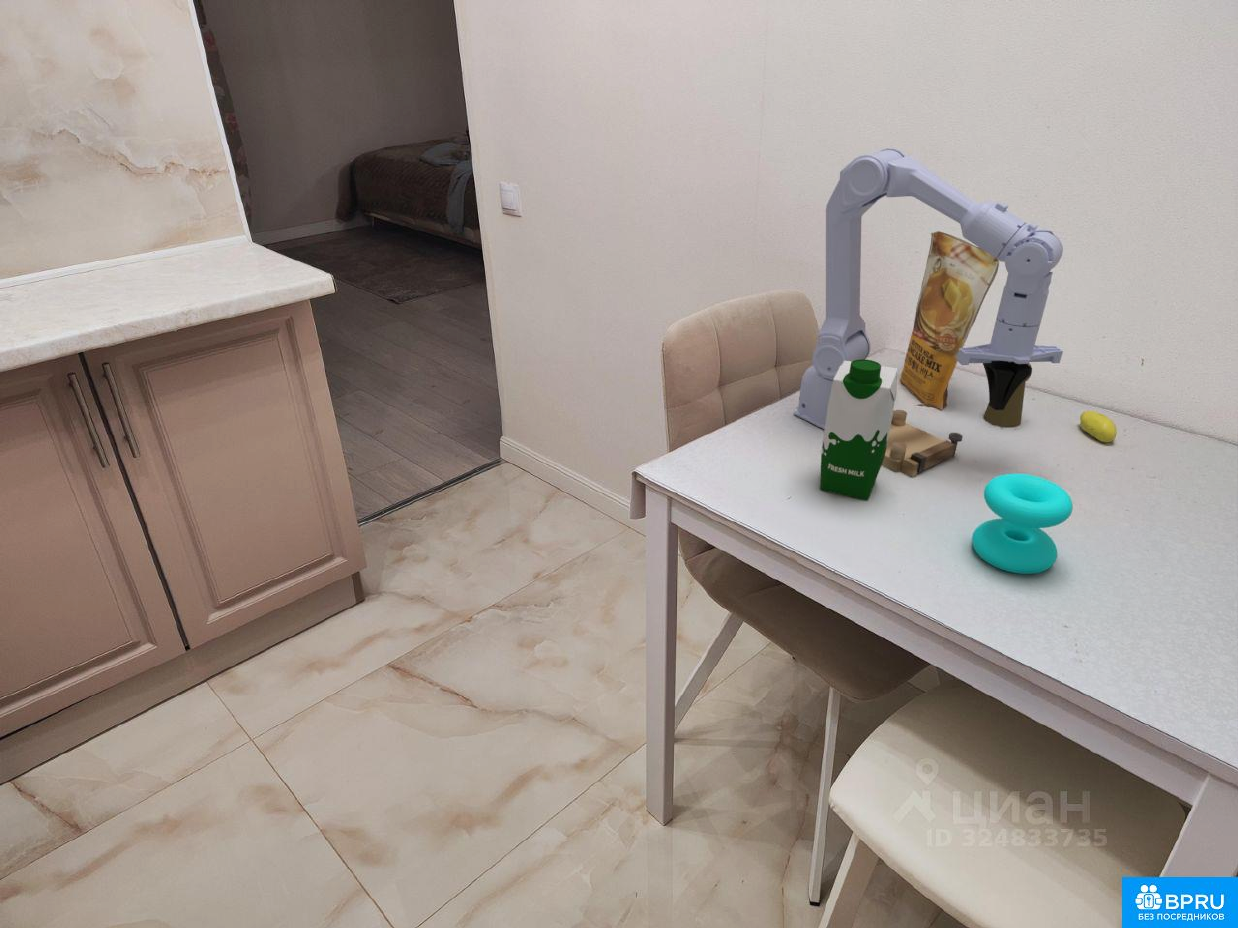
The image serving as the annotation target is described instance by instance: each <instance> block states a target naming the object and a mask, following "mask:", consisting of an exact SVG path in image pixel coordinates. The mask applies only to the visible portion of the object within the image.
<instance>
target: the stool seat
mask: <svg viewBox="0 0 1238 928" xmlns="http://www.w3.org/2000/svg"><path fill="white" fill-rule="evenodd" d="M907 415H908V412H907V410H906V411H905V410H902V409H894V410H893V416H892V421H891V426H890V432H889V437H888V443H887V448H886V453H885V457H884V460H883V463H882V465H881V466H883V467H884V468H887V469H889V470H891V471H892V472H894V473H898V472H901V473H903V472H904V473H903V474H905V475H906V474H907V476H908V475H909V476H908V477H910V476H911V477H910V478H914V477H916V476H917V474H918V472H917V469H918V464H919V463H917V462H915V461H913V460H911V455H912V454H914V453H916V452H917V453H919V452H921V451H923V450H926V449H928V448H930V447H932V446H935V445H937V444H939V443H942V442H944V441H945V440H944V439H942V438H940V437H938V436H935V435H933V434H932V433H929V432H927V431H925V430H923V429H920V428H918V427H915V426H913V425H911V424H909V423H907V422H906V420H907ZM948 441H950V442H951V443H954V444H955V448H954V452H953V456H952V457H951V458H954V457H955V455H956V451H957V447H958V443H959V442H962V441H963V434H961V433H959V432H950V433H949V434H948Z"/></svg>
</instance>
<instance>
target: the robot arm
mask: <svg viewBox="0 0 1238 928" xmlns="http://www.w3.org/2000/svg"><path fill="white" fill-rule="evenodd" d="M884 197H886V198H903V197H913V198H914V199H917V200H919V202H922V203H923V204H925V205H927V206H929V207H930V208H932V209H934V210H936V211H937V212H939V213H941V214H942V215H944V216H945V217H947V218H950V219H951V220H953V221H955V222H956V223H958V224H959V225H960V229H961V234H962V237H963V238H964V239H966V240H967V242H969V243H971V244H972V245H974V246H976V247H979V248H981V249H982V250H984V251H985V252H987V253H988V254H990V255H991V256H993V257H994V258H996V259H998V261H999V262H1003V263H1004V266H1005V270H1006V272H1007V277H1006V281H1005V284H1004V286H1003V289H1002V294H1001V298H1000V303H999V307H998V310H997V314H996V319H995V322H994V326H993V327H994V328H993V330H992V331H993V332H992V335H991V340H990V343H987V344H986V343H985V344H981V345H976V346H971V347H969V346H968V347H963V348H959V351H958V355H957V363H958V364H960V365H961V366H969V364H982V366H983V367H984V371H985V374H986V378H987V379H986V380H987V384H988V396H989V397H988V398H989V399H988V404H989V405H990V406H991V407H992V408H993V409H994V410H1004V408H1005V406H1006V404H1007V403H1008V401H1009V399H1010V398H1011V396H1012V395H1013V393H1014V392H1015V390H1016V389H1017V388H1018V386H1019V385H1020V384H1021V383H1022V382H1023V381H1024V380H1025V379H1026V378H1027V377H1028V376H1030V374H1031V372H1032V373H1033V367H1032V366H1031V367H1032V368H1031V367H1030V366H1029V365H1028V364H1029V363H1030V364H1031V363H1041V362H1043V363H1045V362H1048V363H1049V362H1050V363H1052V364H1060V363H1061V360H1062V357H1063V352H1064V351H1063V349H1061V348H1059V347H1058V346H1056V345H1040V344H1036V342H1037V337H1038V333H1039V330H1040V325H1041V323H1042V320H1043V314H1044V312H1045V308H1046V304H1047V301H1048V296H1049V292H1050V291H1049V290H1050V289H1049V288H1050V285H1051V283H1052V276H1053V274H1054V273H1053V272H1052V270H1053V269H1054V268H1056V266H1057V265H1058V264H1059V262H1060V261H1061V259H1062V256H1063V249H1064V248H1063V243H1062V242H1061V241H1062V240H1060V238H1059V237H1058V236H1057V235H1055V233H1054V232H1053V231H1052V230H1051V229H1044V228H1043V229H1041V228H1040V229H1038V224H1036V223H1034V222H1030V223H1027V222H1026V221H1024V220H1023V219H1022V218H1021V219H1020V217H1018V216H1016V215H1014V214H1013V213H1012V212H1010V211H1008V210H1007V209H1008V207H1009V205H1008V204H1006V203H1005V202H1004V201H1002V200H1001V201H999V202H997V203H995V202H994V201H993V200H986V201H984V202H976V201H974V200H973V199H972V198H970V197H969V196H967V195H966V194H964V193H963V192H961V190H959V189H957V188H956V187H954V186H953V185H952V184H951V183H949V182H948V181H947V180H945V179H944V178H942V177H941V176H939V175H938V174H936V173H935V172H933V171H932V170H930V169H929V168H928V167H927V166H925V165H924V164H922V162H920V161H919V160H918V159H916V158H915V157H912V156H910V155H906V154H905V153H904V152H903V151H902V150H899V149H897V148H893V147H892V148H891V147H890V148H889V147H888V148H884V149H881V150H879V151H877V152H873V153H869V154H867V153H866V154H862V155H859V156H856V157H855V158H854V159H853V160H852V161H851V162H850V163H848V164H847V165H846V166H845V167H843V168H842V170H840V172H839V179H838V182H837V184H836V186H835V187H834V190H833V191H832V192H831V195H830V197H829V200H828V201H827V204H826V208H825V320H824V321H823V324H822V325H821V328H820V329H819V332H818V334H817V344H816V347H815V349H814V350H813V353H812V365H810V366H808V368H807V369H806V370H805V372H804V374H803V375H802V377H801V382H800V388H799V395H798V396H799V397H798V406H797V410H795V411H794V412H793V414H794V415H795V416H797V417H799V418H801V419H803V420H805V421H807V422H809V423H811V424H812V425H815V426H816V427H819V428H820V429H823V430H824V431H825V424H826V417H827V409H828V403H829V398H830V394H831V387H832V382H833V379H834V377H835V375H836V373H837V371H838V369H839V367H840V366H841V365H842V364H843V362H844V361H851V362H852V361H854V360H859V359H865V360H867V358H868V357H869V355H870V353H871V341H870V339H869V336H868V335H867V331H866V321H865V320H864V319H863V318H862V316H861V314H860V313H861V312H860V310H861V306H860V305H861V265H862V264H861V263H862V262H861V260H862V259H861V258H862V257H861V256H862V217H863V216H864V214H865V213H866V212H867V211H868V210H870V209H871V208H872V207H873V206H874V205H875V204H876V203H877V202H878V201H879V200H880V199H882V198H884ZM1031 375H1032V374H1031ZM1030 377H1031V376H1030Z"/></svg>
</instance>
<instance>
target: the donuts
mask: <svg viewBox="0 0 1238 928" xmlns="http://www.w3.org/2000/svg"><path fill="white" fill-rule="evenodd" d="M983 497H984V501H985V503H986V504H987V506H988V508H989V509H990V510H991V512H993V513H994V514H995V515H996V516H998V517H1000V518H993V519H989V520H986V521H984V522H981V524H979V525H978V526H977V527H976V528H975V529H974V531H973V532H972V536H971V542H972V543H971V544H972V547H973V549H974V551H975V552H976V553H977V555H978V556H979V557H980V558H981V559H982V560H983V561H985V562H986V563H987V564H990V565H991V566H993V567H995V568H997V569H999V570H1003V571H1005V572H1009V573H1013V574H1014V573H1015V574H1021V575H1030V574H1031V575H1032V574H1038V573H1042V572H1045V571H1047V570H1048V569H1050V568H1051V567H1052V566H1054V564H1055V562H1056V561H1057V558H1058V549H1057V545H1056V544H1055V542H1054V540H1053V538H1052V537H1050V536H1049V534H1047V533H1046V532H1045V531H1044V530H1043V529H1045V528H1050V527H1052V528H1053V527H1055V526H1058V525H1060V524H1062V523H1064V522H1065V521H1067V520H1068V519H1069V518H1070V516H1071V515H1072V512H1073V501H1072V498H1071V497H1070V495H1069V493H1068V492H1067V491H1066V490H1065V489H1063V488H1062V487H1061V486H1059V485H1058V484H1057V483H1055V482H1053V481H1050V480H1048V479H1045V478H1042V477H1040V476H1036V475H1032V474H1027V473H1026V474H1025V473H1006V474H1001V475H999V476H995V477H994V478H992V479H990V480H989V481H988V482H987V483H986V485H985V487H984V490H983Z"/></svg>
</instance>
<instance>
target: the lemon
mask: <svg viewBox="0 0 1238 928" xmlns="http://www.w3.org/2000/svg"><path fill="white" fill-rule="evenodd" d="M1079 420H1080V428H1081V429H1082V430H1083V431H1084V432H1086V433H1088V435H1091V436H1092V437H1094V438H1095V439H1097V440H1098V441H1099V442H1102V443H1110V442H1112V441H1113V440H1114V439H1115V438H1116V437H1117V435H1118V434H1117V432H1118V431H1117V427H1116V424H1115V422H1114V421H1113V420H1112V419H1110V418H1109V417H1108V416H1107V415H1105V414H1103V413H1100V412H1097V411H1095V410H1094V411H1093V410H1085V411H1083V412H1082V413H1081V414H1080V417H1079Z"/></svg>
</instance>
